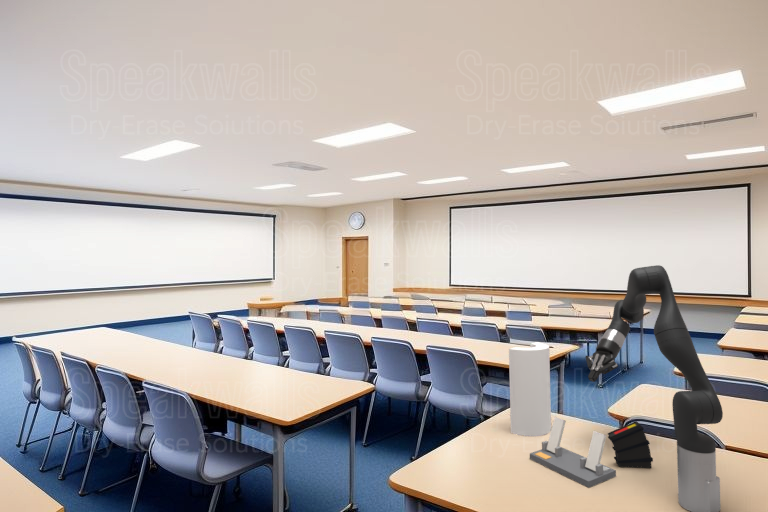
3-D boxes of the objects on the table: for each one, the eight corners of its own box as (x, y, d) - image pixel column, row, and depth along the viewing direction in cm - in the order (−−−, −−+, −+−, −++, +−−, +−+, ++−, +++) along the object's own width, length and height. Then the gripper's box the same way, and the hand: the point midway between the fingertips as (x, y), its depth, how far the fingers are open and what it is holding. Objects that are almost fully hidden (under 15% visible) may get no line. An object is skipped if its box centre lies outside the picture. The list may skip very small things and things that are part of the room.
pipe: (509, 432, 187) (536, 420, 200) (533, 440, 178) (560, 427, 191) (507, 348, 187) (535, 341, 200) (531, 352, 178) (558, 345, 191)
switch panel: (616, 476, 148) (615, 461, 148) (588, 487, 141) (588, 471, 141) (555, 450, 169) (555, 436, 169) (529, 458, 162) (529, 445, 162)
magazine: (662, 464, 152) (641, 424, 153) (625, 479, 153) (605, 439, 154) (657, 459, 156) (636, 420, 157) (621, 474, 157) (601, 435, 158)
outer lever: (557, 453, 160) (565, 420, 163) (555, 453, 160) (563, 419, 162) (548, 449, 164) (556, 417, 166) (546, 449, 163) (554, 416, 166)
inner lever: (598, 472, 146) (606, 435, 149) (595, 471, 146) (604, 434, 148) (587, 467, 150) (595, 431, 152) (585, 466, 149) (593, 430, 152)
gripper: (591, 335, 178) (571, 370, 172) (622, 340, 166) (602, 378, 160) (599, 346, 180) (580, 382, 174) (631, 352, 169) (612, 390, 163)
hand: (591, 380), depth 167 cm, fingers closed
